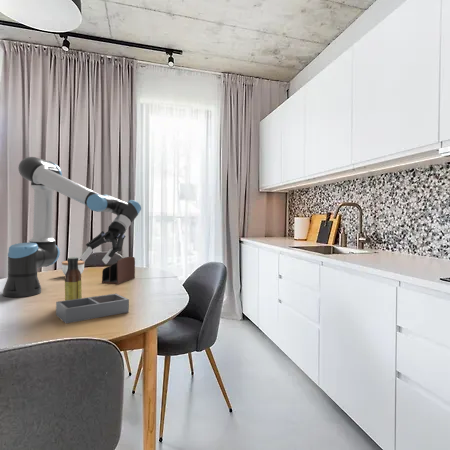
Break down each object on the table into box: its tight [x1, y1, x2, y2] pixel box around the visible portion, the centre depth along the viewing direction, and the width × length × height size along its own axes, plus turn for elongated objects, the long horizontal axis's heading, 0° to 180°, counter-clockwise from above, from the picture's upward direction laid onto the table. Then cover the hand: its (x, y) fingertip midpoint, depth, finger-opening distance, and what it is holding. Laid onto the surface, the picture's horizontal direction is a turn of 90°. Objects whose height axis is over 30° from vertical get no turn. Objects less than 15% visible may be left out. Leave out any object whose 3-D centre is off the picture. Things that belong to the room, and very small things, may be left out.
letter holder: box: [101, 256, 136, 285], centre depth 187 cm, size 10×20×14 cm, turn 168°
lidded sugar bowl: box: [61, 259, 86, 276], centre depth 194 cm, size 13×13×11 cm
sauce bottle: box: [64, 256, 83, 301], centre depth 132 cm, size 6×6×20 cm
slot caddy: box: [55, 293, 130, 324], centre depth 122 cm, size 12×23×5 cm, turn 132°
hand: (92, 261), depth 139 cm, fingers open, 13 cm apart
